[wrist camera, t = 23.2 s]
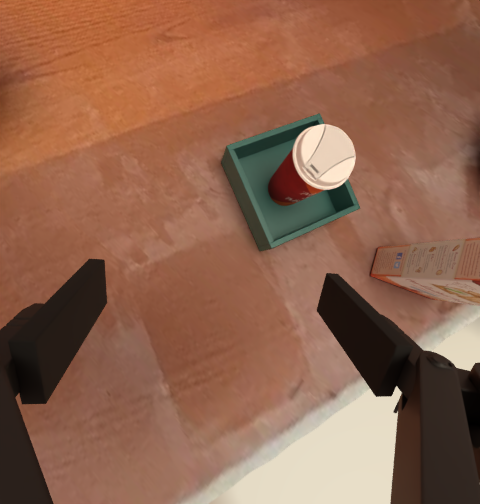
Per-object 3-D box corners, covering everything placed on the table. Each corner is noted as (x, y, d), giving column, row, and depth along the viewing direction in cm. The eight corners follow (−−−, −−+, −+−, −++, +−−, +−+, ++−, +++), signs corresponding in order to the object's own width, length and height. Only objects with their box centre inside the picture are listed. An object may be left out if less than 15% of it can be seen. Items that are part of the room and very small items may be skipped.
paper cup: (285, 222, 43) (332, 200, 30) (251, 188, 43) (283, 149, 29) (315, 189, 45) (372, 154, 31) (282, 156, 44) (327, 105, 30)
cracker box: (368, 278, 47) (509, 285, 27) (376, 246, 48) (520, 228, 27) (432, 302, 49) (607, 325, 29) (439, 271, 50) (615, 272, 30)
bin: (220, 162, 43) (226, 145, 37) (302, 133, 46) (319, 113, 40) (259, 251, 43) (271, 248, 37) (338, 215, 47) (360, 208, 41)
